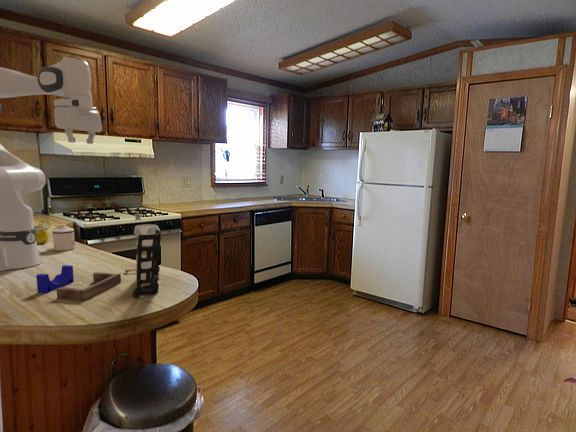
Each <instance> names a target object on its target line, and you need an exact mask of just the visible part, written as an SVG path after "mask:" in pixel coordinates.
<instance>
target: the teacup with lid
mask: <svg viewBox="0 0 576 432" xmlns="http://www.w3.org/2000/svg"><path fill="white" fill-rule="evenodd" d="M51 233H52V241H53V250H54V251H56V252H65V251H72V250H74V249H76V241H75V229H74V228H72V227H69V226H66V224H65V223H63V224H60V226H59V227H57V228H54V229H52V232H51Z"/></svg>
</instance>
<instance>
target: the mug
mask: <svg viewBox="0 0 576 432" xmlns="http://www.w3.org/2000/svg"><path fill="white" fill-rule="evenodd" d="M44 221H45V223H44ZM46 223H48V227H47V224H46ZM50 227H51V222H50V221H49V220H47V219H42V220H40V221H39V222H38V224H37V225H34V228H35V230H36V239H35V240H36V242H37V245H41V244H45V243H47V242H49V239H50V238H49V233H48V230H49V228H50Z"/></svg>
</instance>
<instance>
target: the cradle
mask: <svg viewBox="0 0 576 432" xmlns="http://www.w3.org/2000/svg"><path fill="white" fill-rule="evenodd" d="M92 275H93V276H92V278H93V282H94V283H93V284H91V285H90V286H87V287H85V288H75V287H73V288H72V287H64V286H63V287H60V288H57V289H56V299H60V300H71V301H72V300H74V301H82V302H83V301H84V302H85V301H87V300H89V299H92V298H93V297H95V296H97V295H99V294H101V293H103V292H105V291H107V290H109V289H111V288H112V287H115V286H116V285H119V284H121V283H122V276H121V273H112V272H111V273H110V272H99V271H98V272H97V271H96V272H93V273H92Z"/></svg>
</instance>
